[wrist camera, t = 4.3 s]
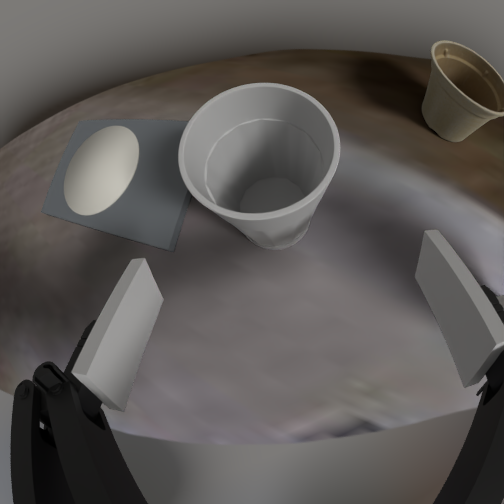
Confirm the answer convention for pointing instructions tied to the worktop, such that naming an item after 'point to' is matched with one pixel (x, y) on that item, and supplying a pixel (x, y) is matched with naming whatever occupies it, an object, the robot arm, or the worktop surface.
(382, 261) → the worktop surface
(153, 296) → the robot arm
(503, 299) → the skyscraper
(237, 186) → the cup
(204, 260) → the worktop surface
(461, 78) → the flower pot
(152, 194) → the board
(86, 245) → the worktop surface
